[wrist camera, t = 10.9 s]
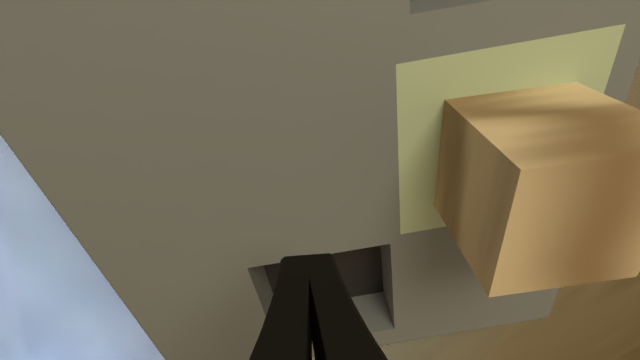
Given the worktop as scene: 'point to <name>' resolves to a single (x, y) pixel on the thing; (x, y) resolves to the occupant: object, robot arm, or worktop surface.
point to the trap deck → (280, 145)
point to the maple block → (541, 187)
